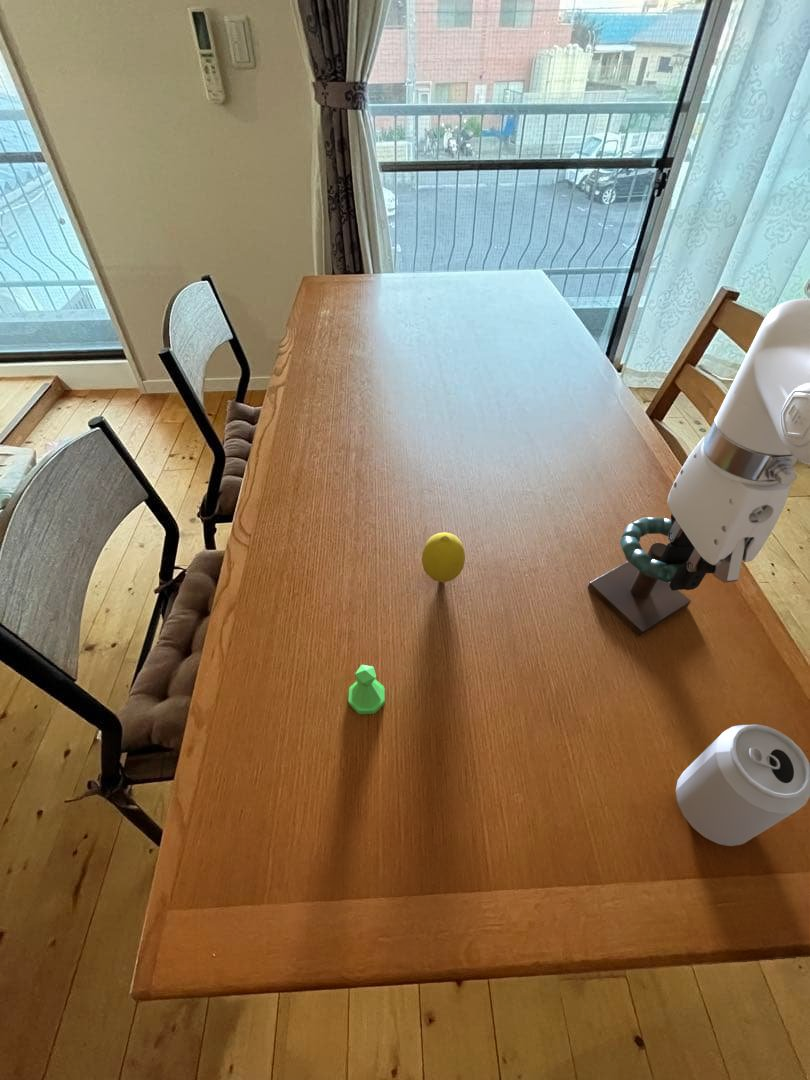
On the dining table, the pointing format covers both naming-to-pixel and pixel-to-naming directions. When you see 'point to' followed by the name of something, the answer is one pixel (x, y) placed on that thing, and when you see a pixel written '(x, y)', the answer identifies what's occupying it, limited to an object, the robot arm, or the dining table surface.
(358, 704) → the game piece
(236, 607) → the dining table surface
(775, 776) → the can
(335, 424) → the dining table surface
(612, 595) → the post
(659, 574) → the ring
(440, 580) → the lemon
